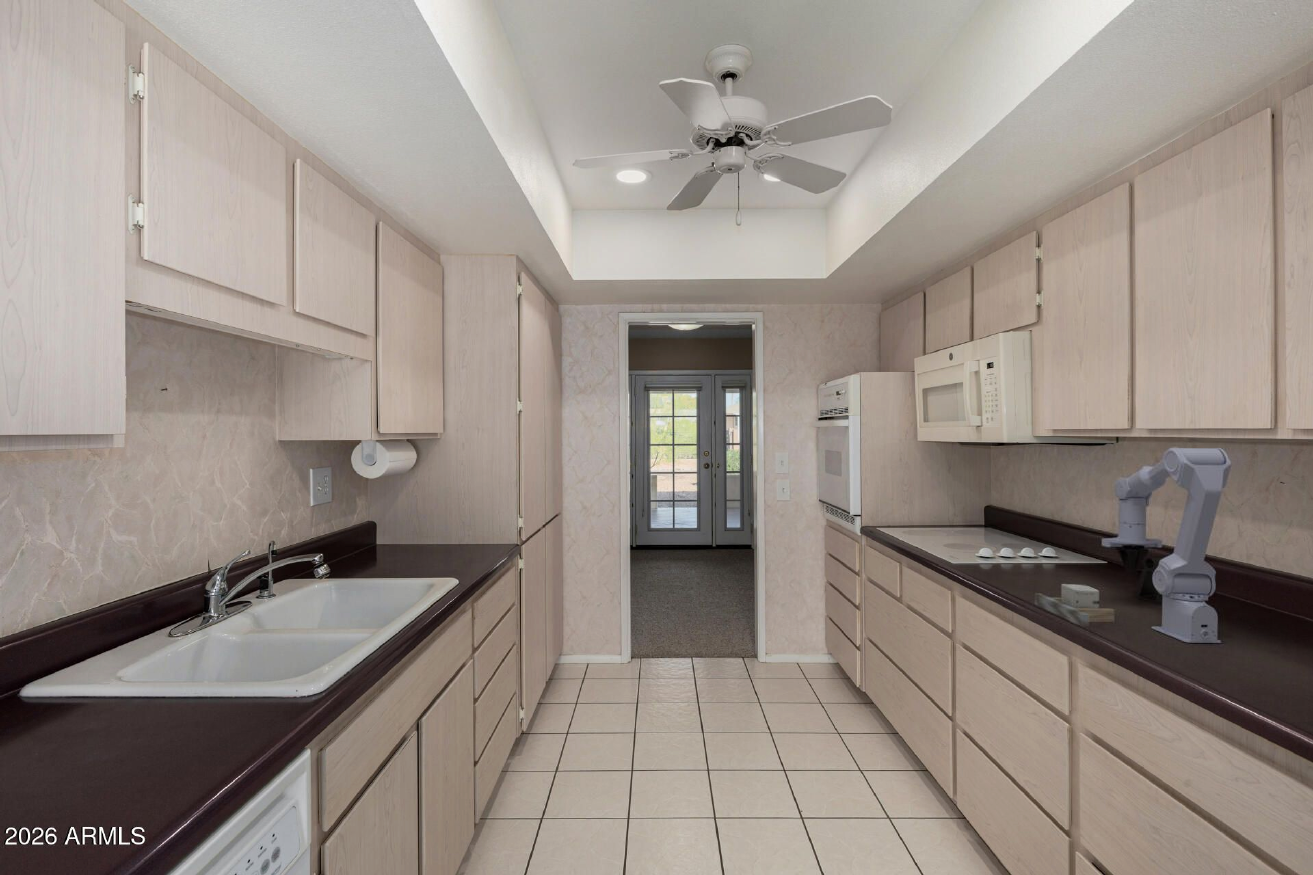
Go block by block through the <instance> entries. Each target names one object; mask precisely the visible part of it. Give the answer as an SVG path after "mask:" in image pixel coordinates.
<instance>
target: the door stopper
mask: <svg viewBox="0 0 1313 875" xmlns="http://www.w3.org/2000/svg"><path fill="white" fill-rule="evenodd" d="M1165 557H1166V556H1165ZM1165 557H1164V556H1161V557H1160V556H1159V557H1147V558H1145V559H1144V561H1143V564H1144V567H1143V570H1142V572H1141V574H1140V578H1139V580H1138V581H1137V584H1136V586H1135V590H1134V591H1133V595H1132V596H1133V597H1135V598H1138V599H1142V600H1145V601H1148V600H1149V602H1151V603H1155V604H1158V605H1161V604H1162V599H1163V595H1162V594H1160V593H1159V592H1158V591H1157V589H1156V588H1155V587H1154V584H1153V580H1152V577H1153V573H1154V571H1155V570H1156V568H1157V567H1158V565H1159V561H1160V560H1162V559H1163V558H1165Z"/></svg>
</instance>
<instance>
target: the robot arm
mask: <svg viewBox="0 0 1313 875" xmlns="http://www.w3.org/2000/svg"><path fill="white" fill-rule="evenodd" d="M1162 456H1163V457H1162V459H1161V460H1160V461H1159V462H1158V463H1156V464H1155V465H1154V466H1148V465H1143V466H1142V467H1141V468H1140V469H1139V470H1138V471H1137V472H1135V473H1133V474H1131V476H1129V477H1128V478H1127V477H1118V478H1117V479H1116V480H1115V481H1114V485H1113V490H1114V491H1113V492H1114V495H1115V497H1116V499H1118V520H1117V521H1118V525H1117V526H1118V527H1117V528H1118V529H1117V534H1118V536H1117V537H1111V538H1110V537H1109V538H1101V546H1102V547H1106V548H1111V547H1114V548H1115V550H1116V552H1117V554H1119V557H1120V558H1121V561H1122V564H1123V567H1124V571H1125V573H1126V574H1129V575H1135V576H1136V575H1137V573H1138V571H1139V568H1140V566H1141V564H1142V561H1143V560H1144V558H1145V557H1146V555H1148V554H1149V549H1148V548H1162V547H1163V540H1161V539H1158V538H1146V537H1147V536H1146V535H1147V533H1146V532H1147V507H1149V506H1150V499H1151V498H1152V496H1153V492H1154V491H1157V490H1158V489H1159V488H1162V487H1163V486H1165V484H1166V482H1167V479H1168V478H1170V477H1171V478H1172V479H1173V481H1174V482H1175V484H1176V485H1177V486H1178V487H1180V488H1182V489H1185V490H1186V491H1187V496H1186V499H1185V500H1186V501H1185V505H1184V509H1183V512H1182V517H1181V521H1180V524H1179V529H1178V533H1177V536H1176V541H1175V545H1174V549H1173V553H1172V554H1170V555H1168V556H1165V558H1163V559H1162V560H1160V561H1159V565H1158V567H1157V568H1156V570H1155V571H1154V573H1153V577H1152V580H1153V584H1154V587H1155V588H1156V589H1157V591H1158V592H1159V593H1160V594H1162V595H1163V599H1162V607H1161V608H1162V609H1161V611H1162V612H1161V613H1162V614H1161V626H1155V625H1154V626H1151V629H1152V630H1154V631H1158V633H1159V632H1160V633H1162V634H1164V635H1166V636H1169V637H1172V638H1174V639H1177V640H1178V641H1182V642H1184V643H1188V644H1190V643H1191V644H1192V643H1193V644H1194V643H1199V644H1203V643H1204V644H1207V643H1208V644H1210V643H1211V644H1221V643H1222V641H1221V640H1220V639H1218V621H1219V620H1218V613H1217V611H1216V609H1215V608H1214V607H1212V606H1211V605H1209V604H1207V603H1206V601H1209V597H1211V596H1212V595H1214V593H1215V591H1216V585H1217V584H1216V574H1217V572H1216V569H1214V567H1213V566H1212V565H1210V564H1209V563H1208V562H1206V561H1205V557H1206V553H1207V551H1208V550H1207V549H1208V547H1209V546H1208V545H1209V542H1210V537H1211V535H1212V531H1213V527H1214V525H1215V524H1214V523H1215V521H1216V520H1215V519H1216V516H1217V512H1218V508H1219V505H1220V504H1219V503H1220V501H1221V498H1222V497H1221V496H1222V494H1223V489H1224V488H1226V486H1227V482H1228V479H1229V475H1230V472H1231V467H1232V462H1231V460H1230V458H1229V456H1228V453H1227V452H1226V451H1225V450H1224V449H1222V448H1221V447H1215V448H1214V447H1212V448H1209V447H1208V448H1203V447H1202V448H1201V447H1200V448H1197V447H1195V448H1194V447H1193V448H1191V447H1186V448H1184V447H1176V446H1175V447H1170V448H1168V450H1165V451H1164V452H1163V454H1162Z"/></svg>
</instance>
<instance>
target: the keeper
mask: <svg viewBox="0 0 1313 875" xmlns="http://www.w3.org/2000/svg"><path fill="white" fill-rule="evenodd" d="M1034 605H1035V606H1038V607H1040V608H1042V609H1044V610H1046V611H1048V612H1050V613H1052V614H1055V615H1057V616H1059V617H1061V618H1063V619H1065V620H1067V621H1069V622H1071V623H1074V624H1075V625H1078V626H1080V627H1081V628H1085V627H1086V628H1090V623H1092V622H1093V623H1114V622H1115V609H1113V608H1105V607H1104V608H1103V607H1102V608H1100V607H1099V608H1073V607H1071V606H1068V605H1066V604H1064V603H1062V602H1061V597H1052V596H1051V597H1050V596H1048V595H1046V594H1043V593H1037V592H1036V593H1034Z"/></svg>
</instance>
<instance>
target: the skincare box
mask: <svg viewBox="0 0 1313 875" xmlns="http://www.w3.org/2000/svg"><path fill="white" fill-rule="evenodd" d="M1060 586H1061V588H1060V589H1061V595H1060V598H1061V602H1062V603H1064V604H1066V605H1068V606H1071V607H1073V608H1100V602H1099V601H1100V591H1099V590H1098V589H1096V588H1094V587H1091V586H1089V585H1087V584H1075V583H1073V584H1072V583H1071V584H1067V583H1061V585H1060Z"/></svg>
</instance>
